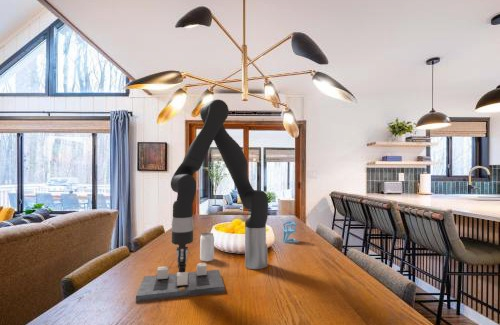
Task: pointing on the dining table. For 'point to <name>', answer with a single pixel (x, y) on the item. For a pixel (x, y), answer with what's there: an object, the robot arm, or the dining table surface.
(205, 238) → the can
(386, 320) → the dining table surface
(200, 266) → the breaker
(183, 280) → the breaker
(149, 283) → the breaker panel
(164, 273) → the breaker
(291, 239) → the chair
